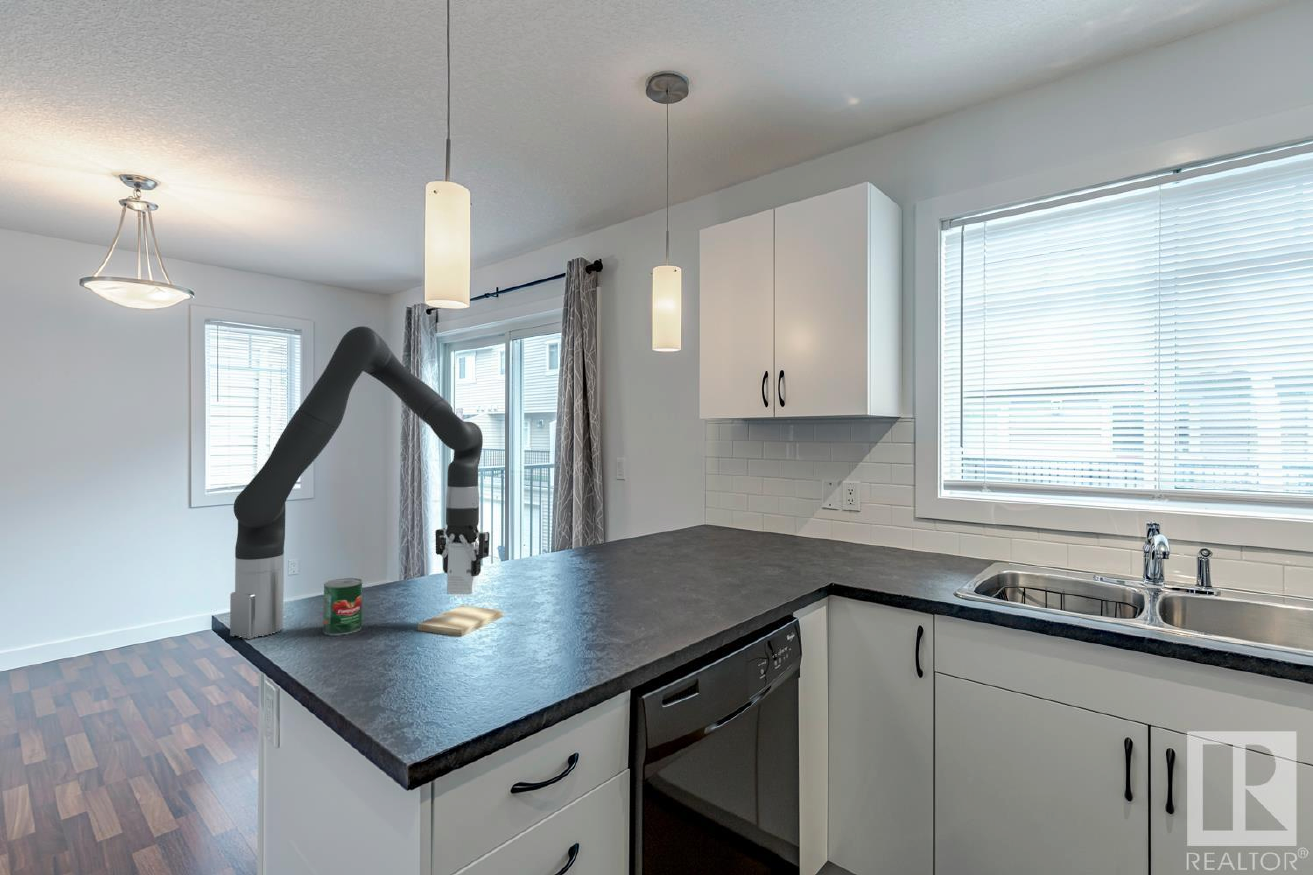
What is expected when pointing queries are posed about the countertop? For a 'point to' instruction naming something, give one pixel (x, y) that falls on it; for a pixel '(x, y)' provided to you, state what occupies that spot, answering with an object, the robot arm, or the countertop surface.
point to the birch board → (460, 620)
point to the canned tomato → (342, 606)
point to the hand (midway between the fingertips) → (461, 574)
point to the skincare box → (459, 570)
